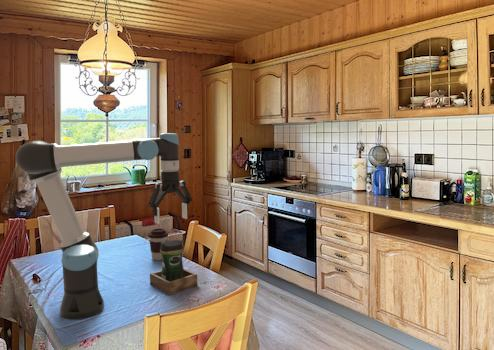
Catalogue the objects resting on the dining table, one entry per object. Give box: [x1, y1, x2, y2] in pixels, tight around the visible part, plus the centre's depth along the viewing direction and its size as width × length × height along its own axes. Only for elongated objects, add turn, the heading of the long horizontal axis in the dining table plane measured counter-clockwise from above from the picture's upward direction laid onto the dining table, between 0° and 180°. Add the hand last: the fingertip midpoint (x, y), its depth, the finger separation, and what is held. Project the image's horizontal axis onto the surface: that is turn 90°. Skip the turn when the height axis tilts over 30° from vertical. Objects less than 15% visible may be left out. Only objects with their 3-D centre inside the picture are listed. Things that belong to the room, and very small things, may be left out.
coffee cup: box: [147, 228, 169, 261], centre depth 212 cm, size 10×10×15 cm
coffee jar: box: [160, 238, 184, 281], centre depth 176 cm, size 10×8×19 cm
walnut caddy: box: [149, 267, 198, 296], centre depth 177 cm, size 14×15×5 cm
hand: (171, 220), depth 174 cm, fingers open, 13 cm apart
